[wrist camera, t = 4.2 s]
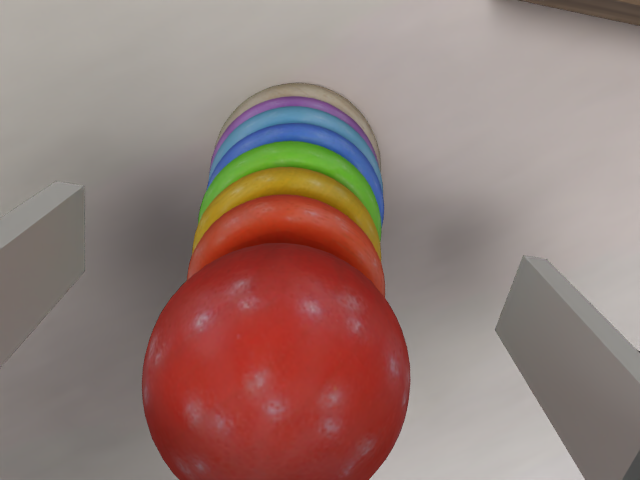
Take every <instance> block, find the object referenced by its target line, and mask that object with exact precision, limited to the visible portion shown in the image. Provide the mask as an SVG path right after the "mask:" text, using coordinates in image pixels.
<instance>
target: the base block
mask: <svg viewBox="0 0 640 480" xmlns="http://www.w3.org/2000/svg"><path fill="white" fill-rule="evenodd" d="M520 1H525V2H530V3H534V4H539V5H544V6H549V7H553V8H558V9H563V10H567V11H572V12H577V13H582V14H586V15H591V16H596V17H601V18H605V19H610V20H615V21H619V22H624V23H629V24H634V25H638V26H640V0H520Z"/></svg>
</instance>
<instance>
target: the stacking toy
mask: <svg viewBox="0 0 640 480" xmlns="http://www.w3.org/2000/svg"><path fill="white" fill-rule="evenodd" d="M380 172H381V161H380V152H379V149H378V145H377V141H376V138H375V136H374V134H373V131H372V129H371V127H370V126H369V124H368V122H367V121H366V119H365V118H364V117H363V115H362V114H361V113H360V112H359V110H357V109H356V108H355V107H354V106H353V105H352V104H351V103H350V102H349V101H348V100H346V99H345V98H344V97H342V96H340V95H338V94H337V93H335V92H333V91H331V90H329V89H326V88H323V87H320V86H316V85H311V84H304V83H291V84H283V85H278V86H273V87H270V88H268V89H265V90H263V91H261V92H259V93H257V94H255V95H253V96H251V97H250V98H248V99H247V100H246V101H244V102H243V103H242V104H241V105H240V106H239V107H238V108H237V109H236V110H235V111H234V112H233V113H232V114H231V115H230V117H229V118H228V119H227V121H226V122H225V124H224V126H223V127H222V129H221V131H220V134H219V136H218V139H217V142H216V145H215V150H214V153H213V156H212V160H211V166H210V172H209V181H208V186H207V190H206V193H205V195H204V198H203V201H202V204H201V207H200V212H199V218H198V227H197V230H196V232H195V237H194V242H193V249H192V256H191V260H190V263H189V269H188V275H187V281H186V282H185V283H184V284H183V285H182V286H181V287H180V288H179V289H178V291H177V292H176V293H175V294H174V295H173V296H172V297H171V299H170V300H169V302H168V303H167V304H166V306H165V307H164V309H163V310H162V312H161V314H160V316H159V318H158V320H157V322H156V324H155V326H154V329H153V331H152V334H151V337H150V339H149V343H148V347H147V351H146V354H145V359H144V365H143V375H142V396H143V405H144V412H145V417H146V420H147V423H148V427H149V430H150V433H151V436H152V439H153V441H154V443H155V445H156V447H157V449H158V451H159V453H160V454H161V456H162V458H163V460H164V461H165V463H166V464H167V465H168V467H169V468H170V470H171V471H172V472H173V474H174V475H175V476H176V477H177V478H178V479H179V480H369V479H370V478H371V477H372V475H373V474H374V473H375V472H376V471H377V470H378V468H379V467H380V466H381V465H382V463H383V462H384V461H385V460H386V458H387V457H388V455H389V453H390V452H391V450H392V448H393V446H394V444H395V442H396V440H397V438H398V436H399V434H400V431H401V429H402V426H403V423H404V420H405V416H406V411H407V406H408V400H409V390H410V363H409V357H408V351H407V346H406V343H405V339H404V336H403V332H402V329H401V327H400V325H399V322H398V320H397V318H396V316H395V314H394V312H393V310H392V309H391V307H390V305H389V303H388V302H387V300H386V299H385V280H384V273H383V269H382V265H381V247H380V240H381V228H382V224H383V218H384V200H383V184H382V178H381V173H380Z"/></svg>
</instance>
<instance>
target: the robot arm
mask: <svg viewBox="0 0 640 480" xmlns="http://www.w3.org/2000/svg"><path fill="white" fill-rule="evenodd" d="M84 271H85V210H84V185H78V184H72V183H65V182H59V181H56V182H54V183H53V184H51V185H50V186H48V187H47V188H45V189H43V190H42V191H40V192H39V193H37V194H36V195H34V196H33V197H31V198H30V199H28V200H27V201H25V202H24V203H22V204H21V205H19V206H18V207H16V208H15V209H13V210H11V211H10V212H8V213H7V214H5V215H4V216H2V217H1V218H0V368H1V367H2V366H3V364H4V363H5V362H6V361H7V360H8V359H9V358H10V356H11V355H12V354H13V353H14V352H15V351H16V350H17V348H18V347H19V346H20V345H21V344H22V343H23V341H24V340H25V339H26V338H27V337H28V336H29V335H30V333H31V332H32V331H33V330H34V329H35V328H36V327H37V325H38V324H39V323H40V322H41V321H42V320H43V319H44V317H45V316H46V315H47V314H48V313H49V312H50V311H51V309H52V308H53V307H54V306H55V305H56V304H57V302H58V301H59V300H60V299H61V298H62V297H63V296H64V294H65V293H66V292H67V291H68V290H69V289H70V288H71V286H72V285H73V284H74V283H75V282H76V281H77V280H78V278H79V277H80V276H81V275H82V274H83V273H84ZM495 331H496V333H497V334H498V336H499V338H500V339H501V341H502V343H503V344H504V346H505V347H506V349H507V351H508V352H509V354H510V356H511V357H512V359H513V361H514V362H515V364H516V366H517V367H518V369H519V371H520V372H521V374H522V376H523V377H524V379H525V381H526V382H527V384H528V386H529V387H530V389H531V391H532V392H533V394H534V396H535V397H536V399H537V401H538V402H539V404H540V406H541V407H542V409H543V410H544V412H545V414H546V415H547V417H548V419H549V420H550V422H551V424H552V425H553V427H554V429H555V430H556V432H557V434H558V435H559V437H560V439H561V440H562V442H563V444H564V445H565V447H566V449H567V450H568V452H569V454H570V455H571V457H572V459H573V460H574V462H575V464H576V465H577V467H578V469H579V470H580V472H581V473H582V475H583V477H584V478H585V480H640V351H638V350H637V349H635V348H634V347H633V346H632V345H631V344H630V343H629V342H628V341H627V340H626V339H625V337H624V336H623V335H622V334H621V333H620V332H619V331H618V330H617V329H616V328H615V327H614V326H613V325H612V324H611V323H610V322H609V321H608V320H607V319H606V318H605V317H604V316H603V315H602V314H601V313H600V312H599V311H598V310H597V309H596V308H595V307H594V306H593V305H592V304H591V303H590V302H589V301H588V300H587V299H586V298H585V297H584V296H583V295H582V294H581V293H580V292H579V291H578V290H577V289H576V288H575V287H574V286H573V285H572V284H571V283H570V282H569V281H568V280H567V279H566V278H565V277H564V276H563V275H562V274H561V273H560V272H559V271H558V270H557V269H556V268H555V267H554V266H553V265H552V264H551V263H550V262H549V261H548V260H547V259H543V258H537V257H530V256H524V255H523V257H522V260H521V262H520V265H519V268H518V270H517V273H516V276H515V278H514V281H513V284H512V286H511V289H510V291H509V294H508V297H507V299H506V302H505V305H504V307H503V310H502V312H501V315H500V318H499V320H498V323H497V326H496V328H495Z"/></svg>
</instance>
